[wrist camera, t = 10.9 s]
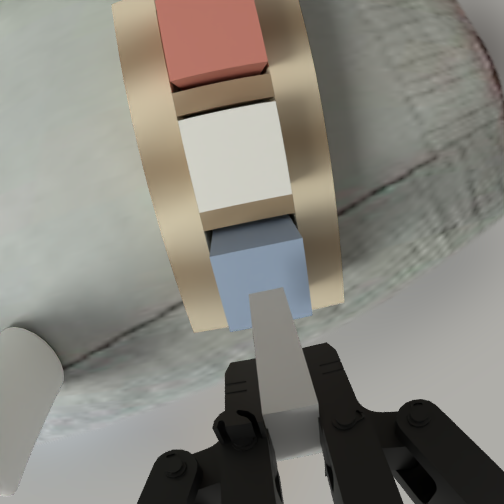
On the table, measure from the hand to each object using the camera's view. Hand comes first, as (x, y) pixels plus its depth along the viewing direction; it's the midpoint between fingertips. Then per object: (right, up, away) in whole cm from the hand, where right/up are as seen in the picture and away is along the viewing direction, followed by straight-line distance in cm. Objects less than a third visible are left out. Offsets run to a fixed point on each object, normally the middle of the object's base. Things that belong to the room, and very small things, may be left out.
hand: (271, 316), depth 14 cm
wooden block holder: (-2, +10, +6) cm, 11 cm away
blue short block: (-1, +3, +7) cm, 7 cm away
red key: (-3, +15, +2) cm, 15 cm away
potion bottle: (-23, -8, +12) cm, 27 cm away
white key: (-2, +9, +5) cm, 10 cm away
